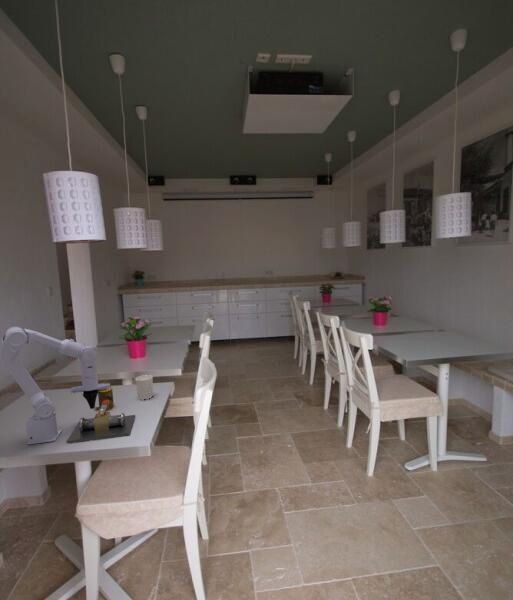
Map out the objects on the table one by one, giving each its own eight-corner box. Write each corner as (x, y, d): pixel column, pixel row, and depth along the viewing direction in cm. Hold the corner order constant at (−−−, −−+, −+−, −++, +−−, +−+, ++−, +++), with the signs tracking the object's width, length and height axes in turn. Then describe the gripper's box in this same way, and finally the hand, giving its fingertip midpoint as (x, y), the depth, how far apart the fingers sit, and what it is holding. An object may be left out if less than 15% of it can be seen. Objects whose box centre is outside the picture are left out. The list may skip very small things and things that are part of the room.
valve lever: (104, 413, 136) (104, 409, 136) (97, 414, 136) (97, 410, 136) (109, 403, 146) (109, 400, 146) (103, 404, 145) (103, 400, 145)
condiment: (116, 409, 157) (113, 383, 156) (95, 414, 152) (93, 387, 151) (112, 403, 163) (110, 379, 162) (93, 408, 159) (90, 383, 157)
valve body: (66, 443, 128) (64, 425, 127) (79, 423, 144) (77, 407, 143) (129, 435, 133) (128, 418, 132) (135, 417, 148) (134, 401, 147)
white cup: (157, 396, 170) (156, 376, 169) (144, 402, 164) (142, 381, 162) (146, 393, 174) (145, 373, 173) (133, 398, 168) (131, 378, 166)
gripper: (110, 370, 146) (113, 401, 148) (73, 374, 143) (76, 405, 145) (106, 376, 139) (109, 408, 141) (67, 380, 137) (71, 413, 138)
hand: (92, 407), depth 143 cm, fingers closed
